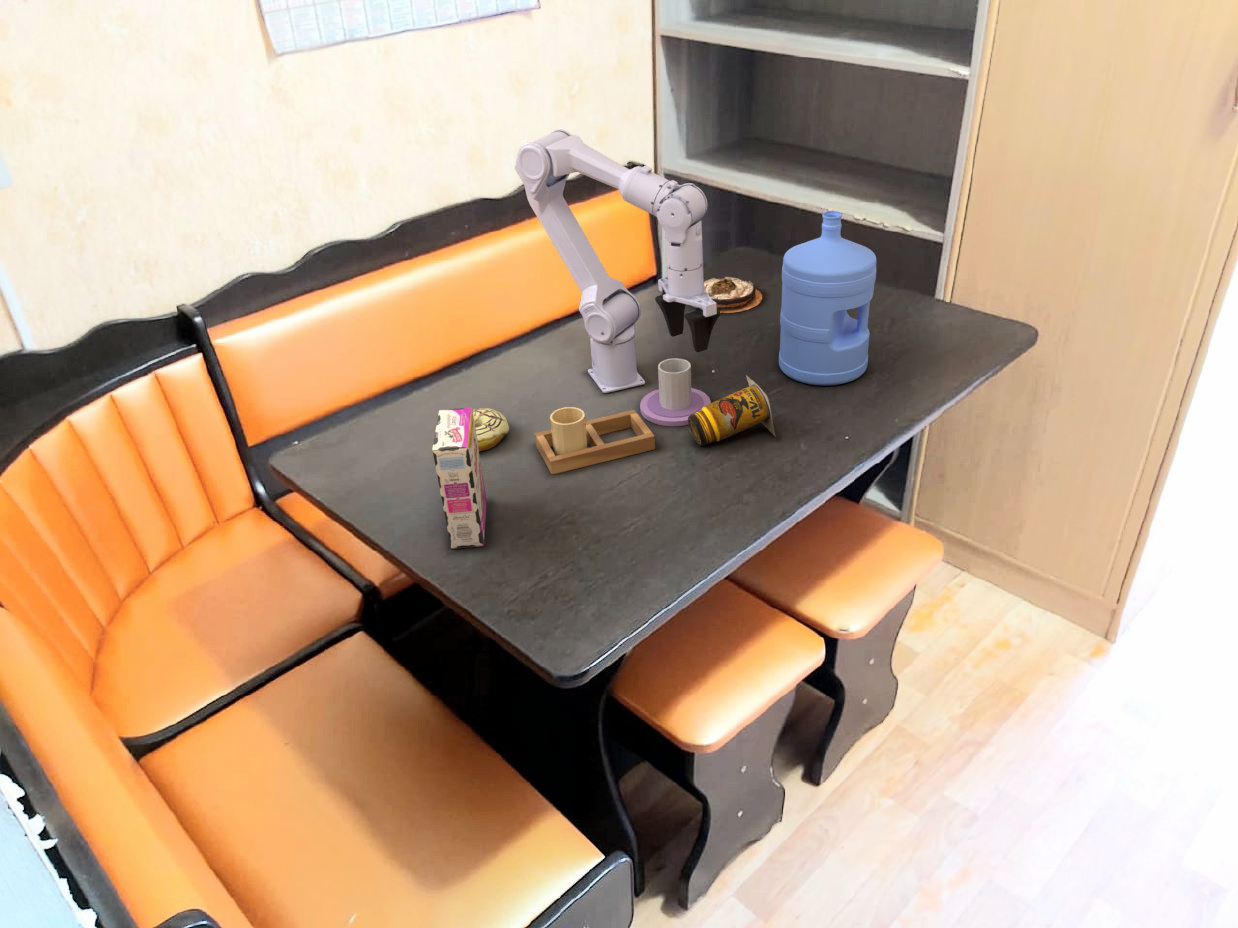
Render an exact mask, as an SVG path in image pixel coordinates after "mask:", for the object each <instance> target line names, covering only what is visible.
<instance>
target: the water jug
mask: <svg viewBox="0 0 1238 928" xmlns="http://www.w3.org/2000/svg"><path fill="white" fill-rule="evenodd" d="M821 216H822V223H821V235H820V236H819V237H816V238H814V239H811V240H808V241H806V242H803V243H800V244H796V245H794V246H792V247H791V248H789V249H788V250H787V251H786V252H785V253H784V255H783V258H782V268H781V282H782V284H781V308H780V314H779V322H780V323H779V324H780V335H779V337H780V338H779V352H778V366H779V368H780V370H781V372H782V373H783V374H785V375H786V376H787V377H789V378H790V379H792V380H794V381H796V382H798V383H799V382H800V383H802V384H807V385H813V386H821V387H823V386H824V387H825V386H829V387H830V386H838V385H843V384H847V383H850V382H853V381H855V380H857V379H859V378H860V377H861V376H862V375H864V374H865V372H866V371H867V368H868V366H869V365H868V363H869V354H868V353H869V346H870V345H869V344H870V335H871V334H870V330H869V326H868V325H869V315H870V304H871V300H872V299H873V297H874V291H875V283H876V280H877V279H876V278H877V256H876V254H875V253H874V252H873V251H872V250H871V249H870V248H869V247H867V246H864V245H863V244H860V243H857V242H854V241H852V240H849V239H847V238H843V237H842V234H841V231H842V225H843V224H842V218H843V213H842V212H840V211H837V210H835V211H834V210H829V211H825V212H823V213H822V215H821ZM857 308H858V312H857V318H855V317H854V318H853V317H851V316H850V315H849V313H848V310H854V309H857Z"/></svg>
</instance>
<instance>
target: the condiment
mask: <svg viewBox="0 0 1238 928" xmlns="http://www.w3.org/2000/svg"><path fill="white" fill-rule="evenodd" d="M745 377H746V380H747V384H748V386H747V387H744V388H742V389H740V390H737V391H735V392H733V393H731V394H728V395H727V396H723V397H722V398H720V399H718V400H717V399H716V400H714V401H711V403H710V404H708V405H706V406H704V407H703V408H702V410H701V411H698V412H696V413H694V414H692V415H690V416H689V417H688V424H689V425H688V427H689V430H690V432H691V434H692V437H693V439H694V441H695V442H696V443H697V444H698V445H699V446H700V447H702V446H706V445H707V444H712V443H713V442H720V441H723V440H725V439H727V438H730V437H732V436H735V435H736V434H738V433H740V432H743V431H745V430H748V429H750V428H752V427H754V426H756V425H759V424H763V426H765V428H766V429H767V430H768V431H769V432H771V434H772V436H774V437H775V438H777V436H776V432H775V431H776V430H775V427H774V423H773V414H772V411H771V410H772V409H771V406H770V402H769V401H770V400H769V396H768V395H767V394H766V392H765V391H764V390H763V389H762V388H761V387H760V386H759V384H757V383H756V382H755V381H754V380H753V379H751V377H749V376H748V375H747V374H746V375H745Z"/></svg>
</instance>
